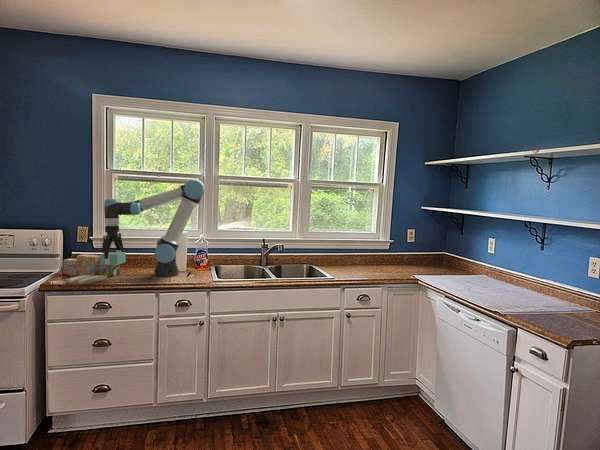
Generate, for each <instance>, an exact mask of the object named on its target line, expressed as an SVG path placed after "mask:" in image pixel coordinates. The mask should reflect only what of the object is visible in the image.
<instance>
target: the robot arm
mask: <svg viewBox="0 0 600 450" xmlns="http://www.w3.org/2000/svg"><path fill="white" fill-rule="evenodd" d="M205 192H206V188H205V184H204V183H203V182H202V181H201V180H200V179H196V178H195V179H194V178H193V179H189V180H188V181H187V182H186V183H184V184H181V185H179V186H178V187H176V188H173V189H170V190H167V191H166V190H165V191H164V192H161V193H157V194H154V195H150V196H147V197H144V198H143V197H142V198H140V199H137V200H134V201H133V200H132V201H130V202H128V201H125V202H122V201H121V202H120V201H119V199H117V198H106V199H104V202H103V203H104V205H103V211H104V225H105V226H104V231H105V233H106V235H105V234H104V235H103V236H102V237H103V238H102V239H103V241H102V245H101V246H102V247H101V254H104V256H105V264H110V253H109V252H110V249H111V247H112V243H113V244H114V246H115V248H116V250H115V252H122V251H123V250H124V245H123V240H122V233H121V232H120V226H119V225H120V216H138V215H141V213H142V212H145V211H148V210H151V209H155V208H157V207H161V206H165V205H168V204H171V203H174V202H178V201H180V202H179V205H178V207H177V209H176V211H175V214H174V215H173V217H172V220H171V221H170V224H169V226H168V228H167V230H166V233H165V234H164V236H163V235H162V236H161V237H160V238H159V239H157V240H156V248H155V249H154V252H153V253H154V258H155V259H156V265H155V268H154V270H153V275H154V276H155V277H161V278H163V277H166V278H169V277H176V276H178V275H179V274H180V272H179V267H178V263H177V251H178V249H179V248H180V239H181V237H182V235H183V232H184V230H185V228H186V226H187V225H188V222H189V219H190V217H191V215H192V214H193V211H194V209H195V207H197V206H198V205H199V204H200V201H201V200H202V197H203V196H204V194H205ZM119 232H120V233H119Z"/></svg>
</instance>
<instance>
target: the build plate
mask: <svg viewBox="0 0 600 450" xmlns="http://www.w3.org/2000/svg"><path fill="white" fill-rule="evenodd" d="M106 279H108V277H107V276H101V275H85V274H83V275H75V276H73V277H69V278H66V279H64V280H63V281H64V282H68V283H69V284H83V285H85V284H87V285H91V284H95V283H97V282H100V281H103V280H106ZM68 283H67V284H68Z"/></svg>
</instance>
